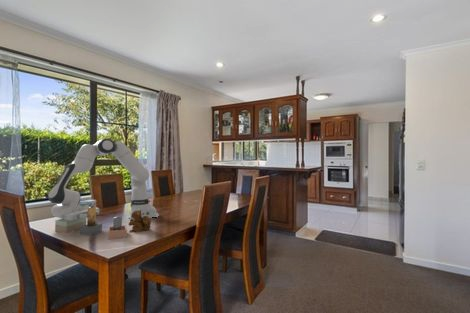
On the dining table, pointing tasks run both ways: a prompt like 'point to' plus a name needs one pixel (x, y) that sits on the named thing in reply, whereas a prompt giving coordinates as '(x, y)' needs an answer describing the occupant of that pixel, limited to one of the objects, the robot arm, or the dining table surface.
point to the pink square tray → (117, 232)
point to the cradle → (90, 229)
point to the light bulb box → (88, 203)
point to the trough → (69, 224)
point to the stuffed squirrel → (139, 222)
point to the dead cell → (117, 223)
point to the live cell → (91, 216)
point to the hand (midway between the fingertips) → (92, 214)
